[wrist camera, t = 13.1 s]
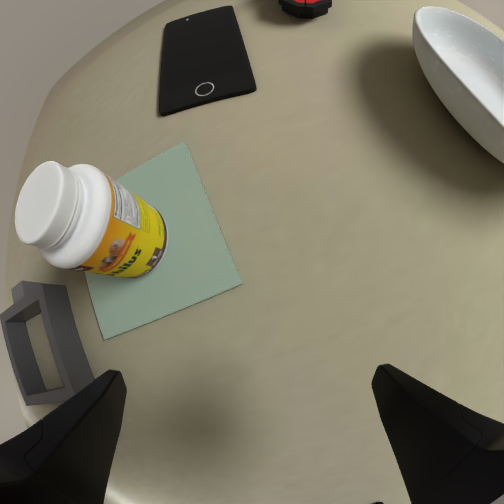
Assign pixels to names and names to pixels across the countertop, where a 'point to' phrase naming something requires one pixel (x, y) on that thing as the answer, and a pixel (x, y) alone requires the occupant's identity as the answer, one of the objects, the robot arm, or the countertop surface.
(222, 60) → the cell phone
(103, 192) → the supplement bottle
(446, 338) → the countertop surface
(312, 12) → the gadget
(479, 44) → the serving bowl
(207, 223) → the mat
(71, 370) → the collar
